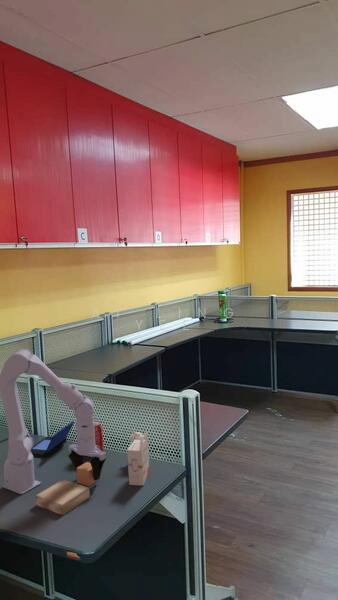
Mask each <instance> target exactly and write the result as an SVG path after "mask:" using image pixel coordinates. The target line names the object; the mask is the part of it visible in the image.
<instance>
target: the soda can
mask: <svg viewBox="0 0 338 600" xmlns="http://www.w3.org/2000/svg"><path fill="white" fill-rule="evenodd" d="M93 420H94V428H95V445H97V448H98V449H99V450H101V451H103V452H104V432H103V431H104V430H103V425H102V424H101V421H99V420H95V419H93ZM87 457H89V458H92V457H91V456H87Z"/></svg>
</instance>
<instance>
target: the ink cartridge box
mask: <svg viewBox="0 0 338 600" xmlns="http://www.w3.org/2000/svg"><path fill="white" fill-rule="evenodd" d="M126 452H127V467H128V468H127V471H128V485H129V486H137V487H138V486H139V487H141V486H142V487H143V486H144V485H145V483H146V481H147V479H148V477H149V475H150V454H149V453H150V452H149V438H148V432H147V431H146V432H145V433H144V434H143V437H142V439H141V440H134V441H133V440H132V443H131V444H130V445H129V447H128V448H127V449H126Z"/></svg>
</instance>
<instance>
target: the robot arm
mask: <svg viewBox="0 0 338 600" xmlns="http://www.w3.org/2000/svg"><path fill="white" fill-rule="evenodd" d="M25 372H26V373H25ZM22 374H25V375H27V376H37V377H38V378H40V379H41V380H42V381H43V382H45V383H46V384H47V385H49V386H50V387H51V389H54V390H55V392H56V393H55V395H56V398H57V399H59V400H60V401H61V402H62V403H63V404H65V406H67V407H68V408H69V409H70V410H72V411H74V412H73V415H74V416H75V418H76V423H75V425H76V427H75V428H76V444H75V443H71V444H69V445H68V452H69V453H70V454H68V459H69V460H70V461H71V463H72V466H73V468H74V470H75V474H76V475H77V467H79V466H81V465H83V464H84V456H87V457H88V456H91V457H90V458H92V457H94V458H92V459H91V460H89V463H90V464H91V466H92V470H93V478H94V480H95V481H96V480H98V479H99V480H100V478H101V473H102V469H103V466H104V464H105V462H106V460H107V455H106V451H104V450H103V451H101V450H99V449H98V448H97V445H95V428H94V420H95V419H94V418H95V417H94V408H95V405H94V402H93V400H92V399H91V397H89V396H87V395H86V394H83V393H82V392H81V391H79V390H78V389H77V388H76V387H77V386H76V384H75V383H72V384H71V383H70V382H64V381H63V380H61V379H60V378H59V377H58V376H57V375H56V374H55V372H54V371H52V369H50V368H49V367H48V366H47V365H46V364H45V363H44V362H43V361H42V359H40V358H39V357H38V356H37V355H36V354H33V352H32V351H31V350H30V349H27V348H24V347H23V348H19V349H17V350H16V351H14V353H13V354H12V355H10V356H9V358H8V359H7V360H5V362H4V363H3V367H2V369H1V370H0V395H1V401H2V405H3V411H4V416H5V421H6V425H7V431H8V442H7V443H8V444H7V445H8V451H7V459H6V460H5V462H4V465H3V477H4V484H3V485H2V488H4V489H7V490H9V491H11V492H14V493H17V494H20V495H24V494H25V493H27V492H29V491H30V490H32V489H35V488H36V487H37V486H39V485H41V484H42V481H39V480H36V479H35V478H36V476H35V465H34V464H35V463H34V461H35V460H34V456H33V455H32V453H31V449H32V448H33V446H34V445H35V444H34V439H33V437H31V435H30V434H29V430H28V429H27V427H26V424H25V420H24V419H25V418H24V414H23V413H24V412H23V411H22V410H23V409H22V404H21V399H20V394H19V389H18V385H17V380H18V378H19V377H20V376H21V375H22ZM99 480H98V481H99ZM96 482H97V481H96Z"/></svg>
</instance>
